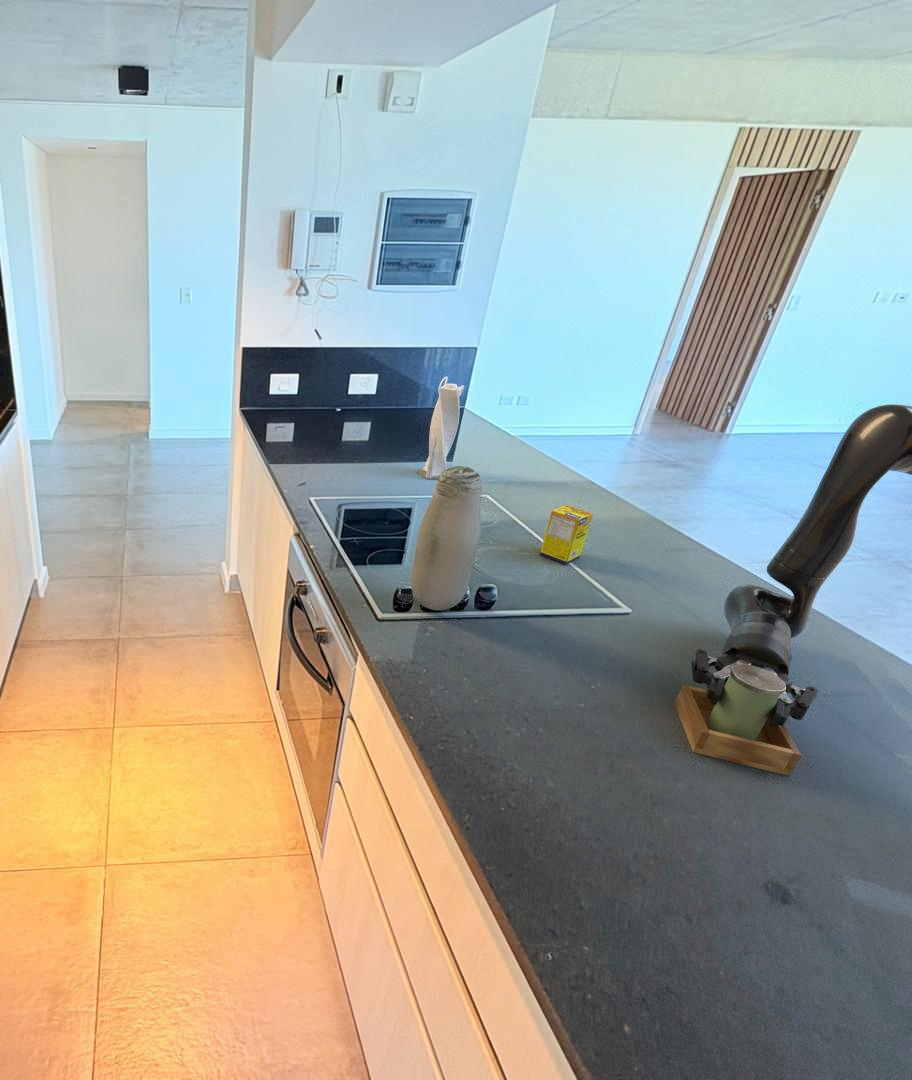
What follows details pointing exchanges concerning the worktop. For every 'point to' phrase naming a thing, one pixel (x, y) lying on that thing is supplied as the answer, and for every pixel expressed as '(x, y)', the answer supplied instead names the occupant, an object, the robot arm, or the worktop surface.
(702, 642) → the worktop surface
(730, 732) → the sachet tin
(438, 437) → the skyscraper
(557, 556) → the supplement box
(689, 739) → the holder
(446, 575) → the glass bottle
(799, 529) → the robot arm
